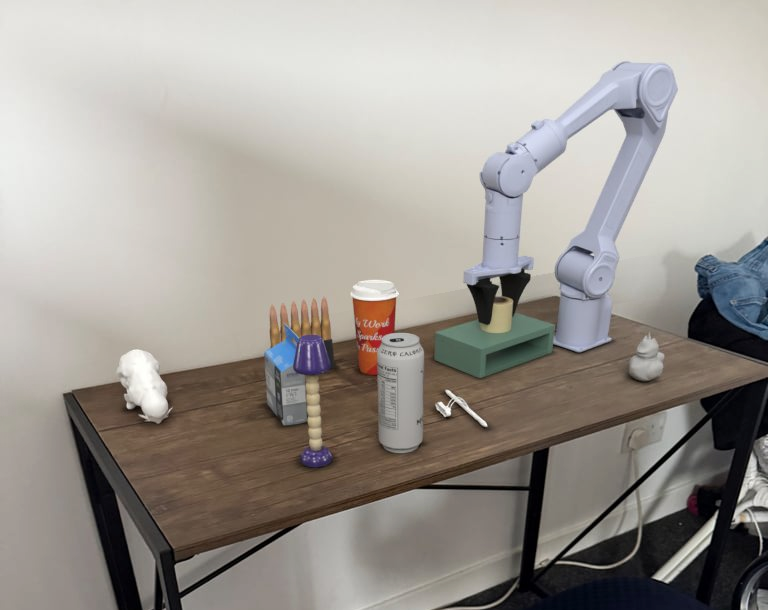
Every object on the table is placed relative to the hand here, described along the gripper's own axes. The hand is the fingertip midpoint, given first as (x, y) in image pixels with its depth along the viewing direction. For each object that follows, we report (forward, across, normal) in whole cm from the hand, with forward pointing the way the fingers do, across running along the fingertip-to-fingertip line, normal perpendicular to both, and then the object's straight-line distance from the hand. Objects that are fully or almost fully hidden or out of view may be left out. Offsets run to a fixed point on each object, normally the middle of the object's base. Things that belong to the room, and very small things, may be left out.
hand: (496, 319), depth 128 cm
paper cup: (+7, -19, +9) cm, 22 cm away
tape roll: (+2, 0, 0) cm, 2 cm away
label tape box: (+7, -40, +4) cm, 41 cm away
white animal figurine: (+7, -56, +18) cm, 59 cm away
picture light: (+7, -21, -12) cm, 25 cm away
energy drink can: (+7, -34, -15) cm, 38 cm away
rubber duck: (+7, +11, -23) cm, 26 cm away
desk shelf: (+7, 0, 0) cm, 7 cm away
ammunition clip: (+7, -29, +16) cm, 34 cm away
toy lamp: (+7, -45, -11) cm, 47 cm away
